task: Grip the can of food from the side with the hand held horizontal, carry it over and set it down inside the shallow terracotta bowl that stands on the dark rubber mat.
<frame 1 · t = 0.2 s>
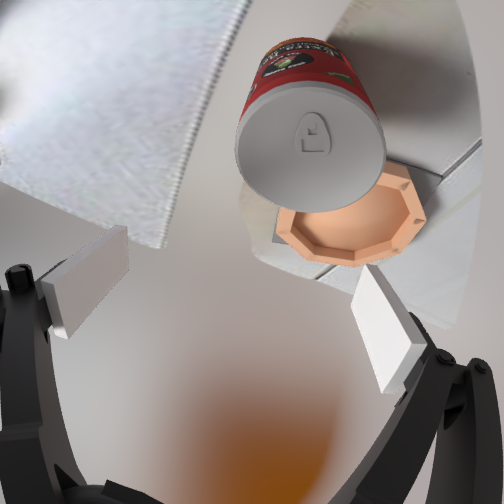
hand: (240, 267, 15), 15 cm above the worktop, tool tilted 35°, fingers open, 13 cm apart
bowl: (351, 219, 30), on the mat
canned food: (306, 78, 19), on the worktop
mat: (350, 209, 31), on the worktop
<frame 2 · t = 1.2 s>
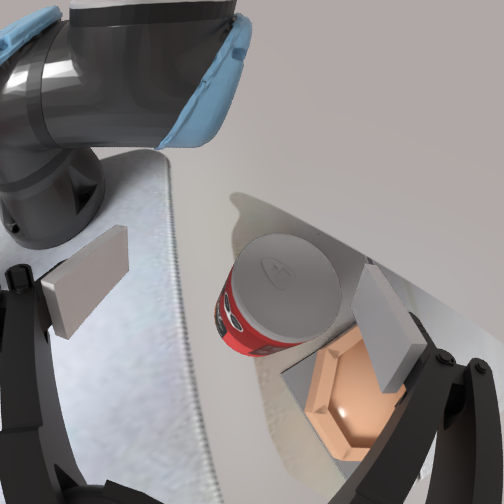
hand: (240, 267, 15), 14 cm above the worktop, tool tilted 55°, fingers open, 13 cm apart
bowl: (378, 391, 26), on the mat
canned food: (251, 320, 28), on the worktop
mat: (371, 392, 27), on the worktop
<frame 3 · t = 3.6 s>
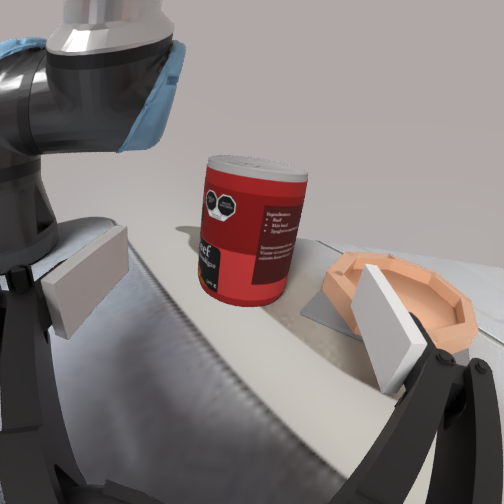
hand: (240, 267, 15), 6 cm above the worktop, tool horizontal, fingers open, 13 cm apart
bowl: (405, 296, 25), on the mat
canned food: (240, 286, 26), on the worktop
mat: (400, 307, 25), on the worktop
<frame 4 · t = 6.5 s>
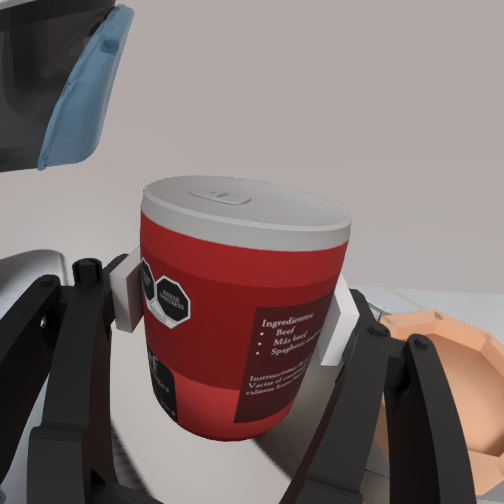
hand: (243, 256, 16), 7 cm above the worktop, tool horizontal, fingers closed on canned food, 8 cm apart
bowl: (461, 386, 14), on the mat
canned food: (221, 392, 15), on the worktop, touching gripper
mat: (451, 399, 14), on the worktop
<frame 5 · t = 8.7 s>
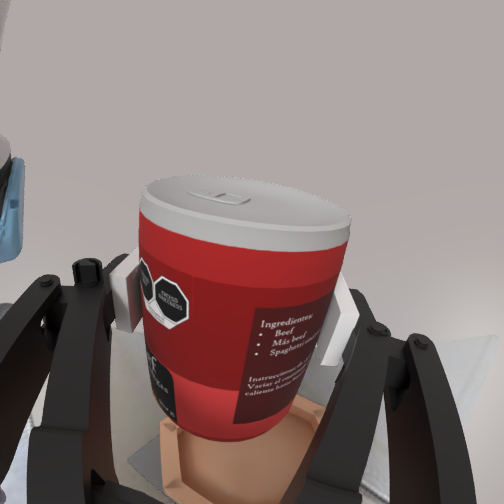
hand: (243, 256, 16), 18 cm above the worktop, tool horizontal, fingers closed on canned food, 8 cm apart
bowl: (254, 453, 20), on the mat
canned food: (221, 392, 15), point 12 cm above the worktop, touching gripper
mat: (252, 459, 21), on the worktop
when the fingers open (9 cm above the worktop, at t = 11.1 s): canned food drops 1 cm, resting on bowl.
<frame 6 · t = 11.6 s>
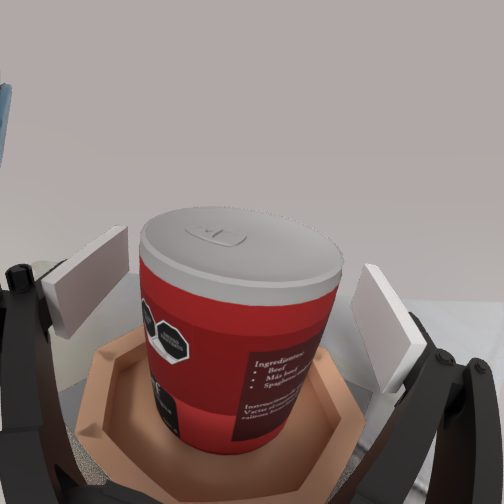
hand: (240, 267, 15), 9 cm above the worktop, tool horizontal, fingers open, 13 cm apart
bowl: (220, 405, 15), on the mat
canned food: (221, 407, 15), point 1 cm above the worktop, touching bowl
mat: (218, 417, 15), on the worktop
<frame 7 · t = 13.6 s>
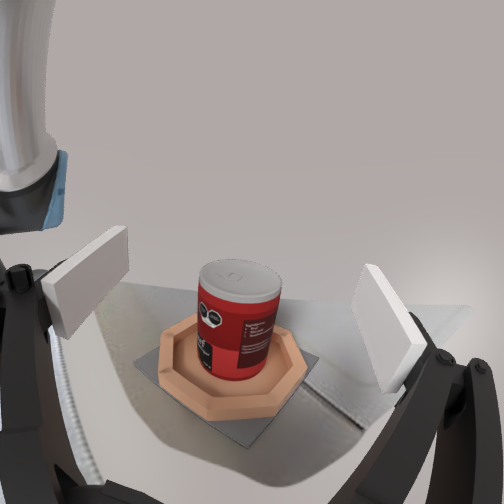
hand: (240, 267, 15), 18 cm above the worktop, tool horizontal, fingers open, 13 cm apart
bowl: (230, 358, 31), on the mat
canned food: (231, 360, 31), point 1 cm above the worktop, touching bowl
mat: (229, 366, 31), on the worktop
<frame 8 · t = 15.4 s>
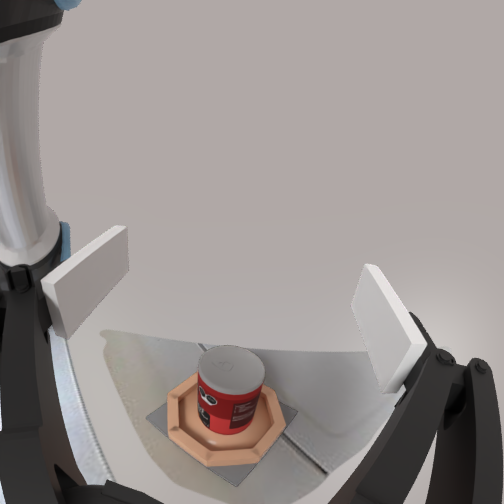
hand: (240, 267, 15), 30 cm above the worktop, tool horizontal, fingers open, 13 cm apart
bowl: (224, 415, 35), on the mat
canned food: (224, 415, 36), point 1 cm above the worktop, touching bowl
mat: (224, 419, 36), on the worktop
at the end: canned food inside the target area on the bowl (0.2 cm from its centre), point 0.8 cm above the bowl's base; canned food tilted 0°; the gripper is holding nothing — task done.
